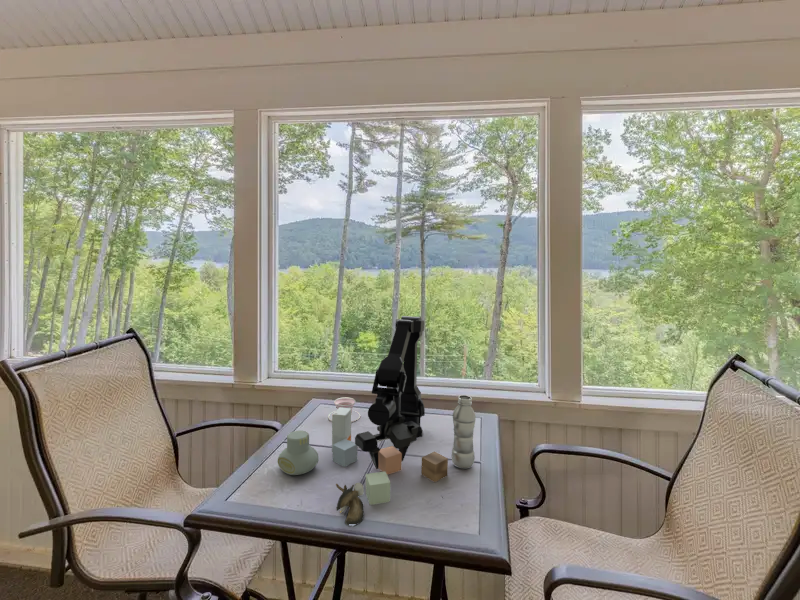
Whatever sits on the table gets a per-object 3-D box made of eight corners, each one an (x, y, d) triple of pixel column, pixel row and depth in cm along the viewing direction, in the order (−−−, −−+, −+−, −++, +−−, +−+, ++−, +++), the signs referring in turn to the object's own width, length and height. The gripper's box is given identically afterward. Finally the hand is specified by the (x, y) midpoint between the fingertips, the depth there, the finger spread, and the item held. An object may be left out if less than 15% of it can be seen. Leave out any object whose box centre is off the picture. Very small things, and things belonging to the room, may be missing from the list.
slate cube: (345, 454, 115) (345, 438, 114) (357, 460, 111) (357, 443, 111) (332, 461, 111) (332, 444, 110) (344, 467, 108) (344, 450, 107)
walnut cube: (433, 468, 108) (434, 451, 107) (447, 476, 104) (447, 458, 104) (421, 474, 105) (421, 457, 104) (434, 482, 101) (435, 464, 100)
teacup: (358, 424, 136) (358, 407, 136) (324, 423, 136) (324, 407, 136) (362, 411, 148) (362, 395, 148) (331, 410, 148) (331, 395, 148)
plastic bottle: (460, 473, 105) (462, 403, 103) (446, 462, 111) (448, 395, 109) (479, 468, 108) (481, 399, 106) (464, 457, 114) (466, 392, 112)
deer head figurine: (326, 499, 91) (328, 517, 82) (342, 471, 92) (346, 486, 84) (353, 514, 92) (358, 533, 83) (369, 486, 93) (375, 502, 85)
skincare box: (345, 454, 115) (345, 415, 113) (331, 452, 116) (331, 414, 114) (351, 444, 121) (351, 408, 119) (338, 443, 121) (338, 406, 120)
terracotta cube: (392, 462, 111) (392, 445, 110) (401, 470, 106) (401, 453, 106) (377, 466, 108) (377, 449, 108) (385, 475, 104) (385, 457, 103)
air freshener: (273, 469, 106) (272, 434, 105) (296, 457, 112) (296, 424, 111) (300, 483, 100) (299, 446, 99) (323, 469, 106) (323, 434, 105)
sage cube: (384, 490, 97) (385, 471, 97) (390, 501, 92) (390, 482, 92) (365, 493, 96) (365, 474, 95) (369, 505, 91) (369, 485, 91)
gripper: (373, 428, 94) (372, 489, 95) (434, 414, 104) (433, 469, 105) (354, 413, 103) (353, 468, 105) (412, 401, 113) (411, 451, 115)
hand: (389, 464), depth 107 cm, fingers open, 8 cm apart
